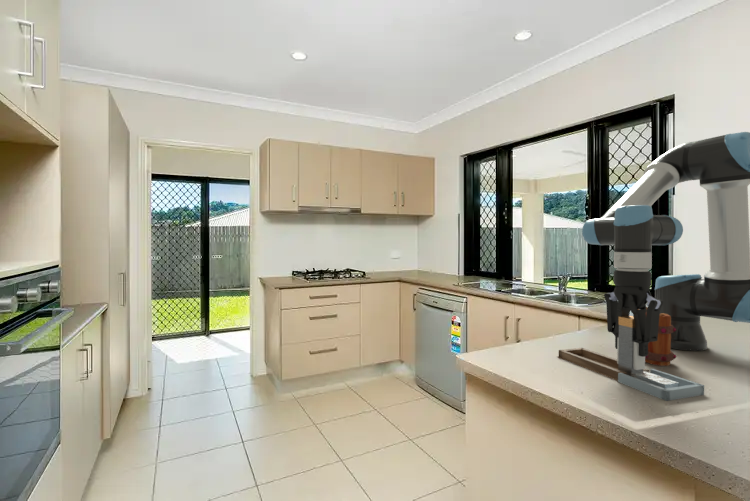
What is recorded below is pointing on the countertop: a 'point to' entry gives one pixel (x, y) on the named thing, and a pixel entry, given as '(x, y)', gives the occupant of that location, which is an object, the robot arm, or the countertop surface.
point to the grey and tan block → (626, 344)
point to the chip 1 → (643, 375)
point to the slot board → (592, 361)
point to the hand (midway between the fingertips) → (630, 365)
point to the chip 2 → (662, 382)
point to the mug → (661, 343)
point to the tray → (683, 391)
